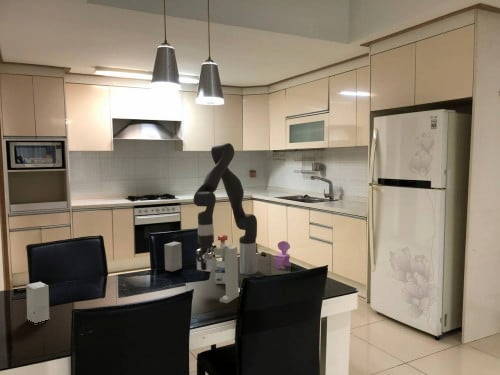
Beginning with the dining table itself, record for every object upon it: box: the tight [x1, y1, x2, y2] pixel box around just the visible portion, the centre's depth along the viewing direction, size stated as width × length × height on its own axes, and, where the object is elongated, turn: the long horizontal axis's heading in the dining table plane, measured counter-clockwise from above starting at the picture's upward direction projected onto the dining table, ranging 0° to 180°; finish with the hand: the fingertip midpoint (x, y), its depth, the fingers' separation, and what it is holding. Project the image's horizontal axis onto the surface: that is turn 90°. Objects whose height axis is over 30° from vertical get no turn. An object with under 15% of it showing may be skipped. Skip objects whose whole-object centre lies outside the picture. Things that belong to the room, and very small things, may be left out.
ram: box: [216, 234, 228, 268], centre depth 183 cm, size 5×5×14 cm
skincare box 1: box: [26, 281, 50, 323], centre depth 160 cm, size 8×6×15 cm
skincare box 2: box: [163, 241, 183, 272], centre depth 232 cm, size 8×7×16 cm
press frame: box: [213, 244, 241, 304], centre depth 182 cm, size 16×9×23 cm, turn 151°
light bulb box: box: [214, 267, 226, 285], centre depth 206 cm, size 11×7×11 cm, turn 169°
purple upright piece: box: [274, 240, 292, 270], centre depth 230 cm, size 8×9×15 cm
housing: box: [196, 253, 218, 273], centre depth 188 cm, size 5×8×8 cm, turn 61°
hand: (206, 268), depth 188 cm, fingers closed on housing, 5 cm apart
